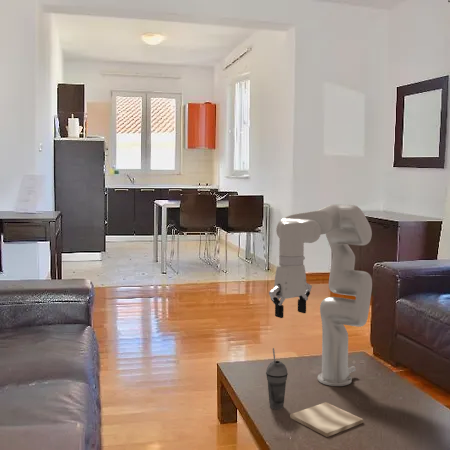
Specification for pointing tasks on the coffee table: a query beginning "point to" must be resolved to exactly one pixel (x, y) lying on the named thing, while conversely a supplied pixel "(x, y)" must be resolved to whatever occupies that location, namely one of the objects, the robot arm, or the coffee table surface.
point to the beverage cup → (276, 383)
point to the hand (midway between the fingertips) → (290, 314)
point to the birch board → (326, 419)
